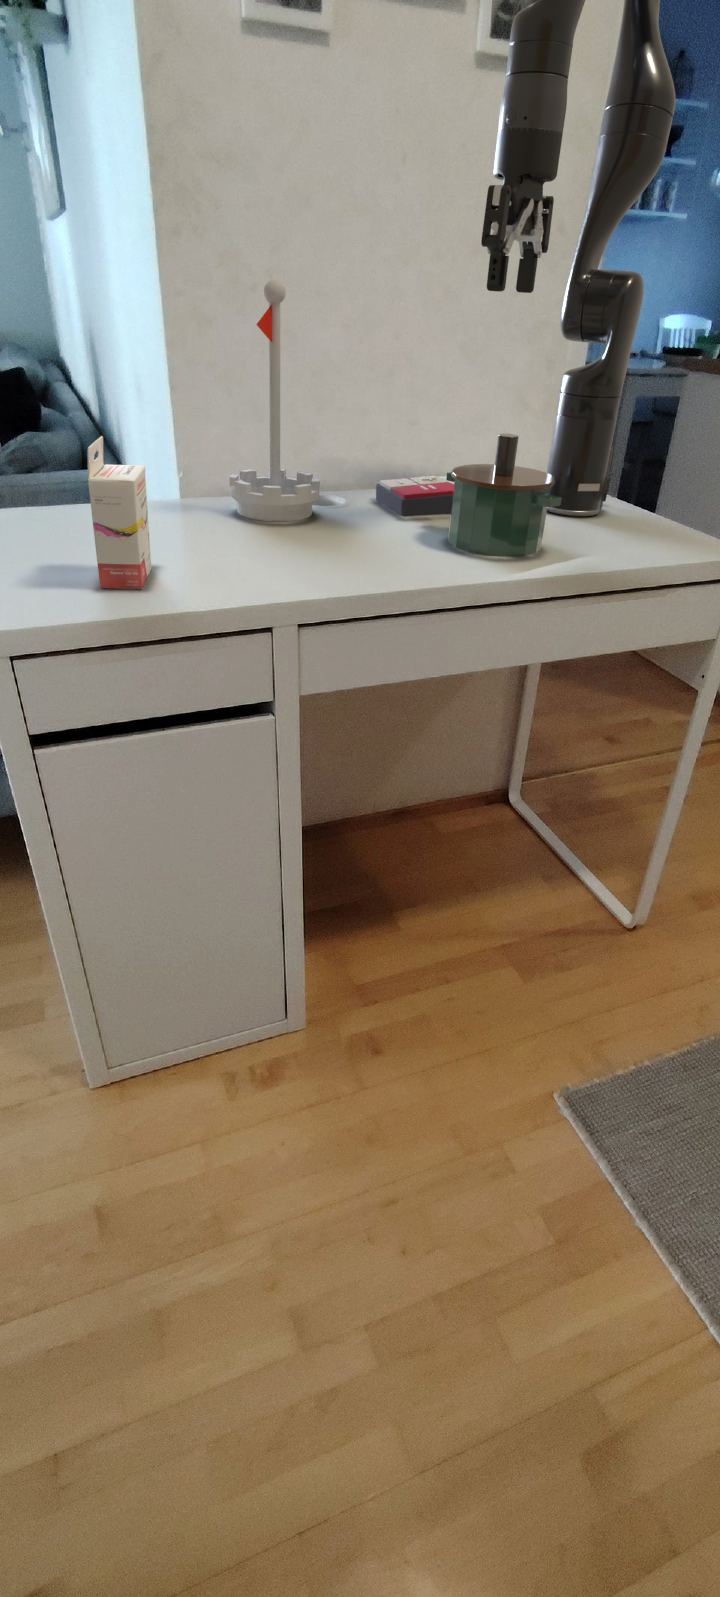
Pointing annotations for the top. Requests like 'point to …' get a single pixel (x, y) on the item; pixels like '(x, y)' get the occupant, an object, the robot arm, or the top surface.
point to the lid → (504, 471)
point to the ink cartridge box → (119, 521)
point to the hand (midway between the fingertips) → (510, 292)
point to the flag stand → (274, 443)
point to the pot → (498, 519)
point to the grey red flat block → (416, 495)
